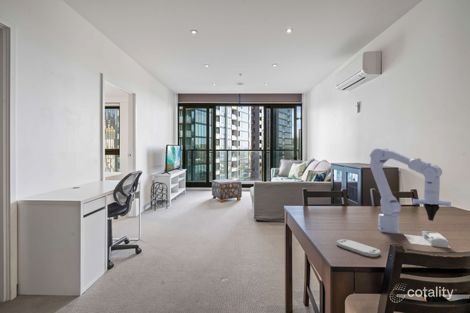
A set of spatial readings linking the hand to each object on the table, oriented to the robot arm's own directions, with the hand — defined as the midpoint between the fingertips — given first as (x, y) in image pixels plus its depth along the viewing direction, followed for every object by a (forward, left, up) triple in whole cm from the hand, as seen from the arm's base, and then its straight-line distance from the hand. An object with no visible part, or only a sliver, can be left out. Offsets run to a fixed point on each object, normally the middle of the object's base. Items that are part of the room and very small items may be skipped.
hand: (430, 220), depth 128 cm
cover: (+1, -3, -7) cm, 8 cm away
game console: (-33, -25, -11) cm, 43 cm away
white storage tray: (-2, -2, -10) cm, 10 cm away
